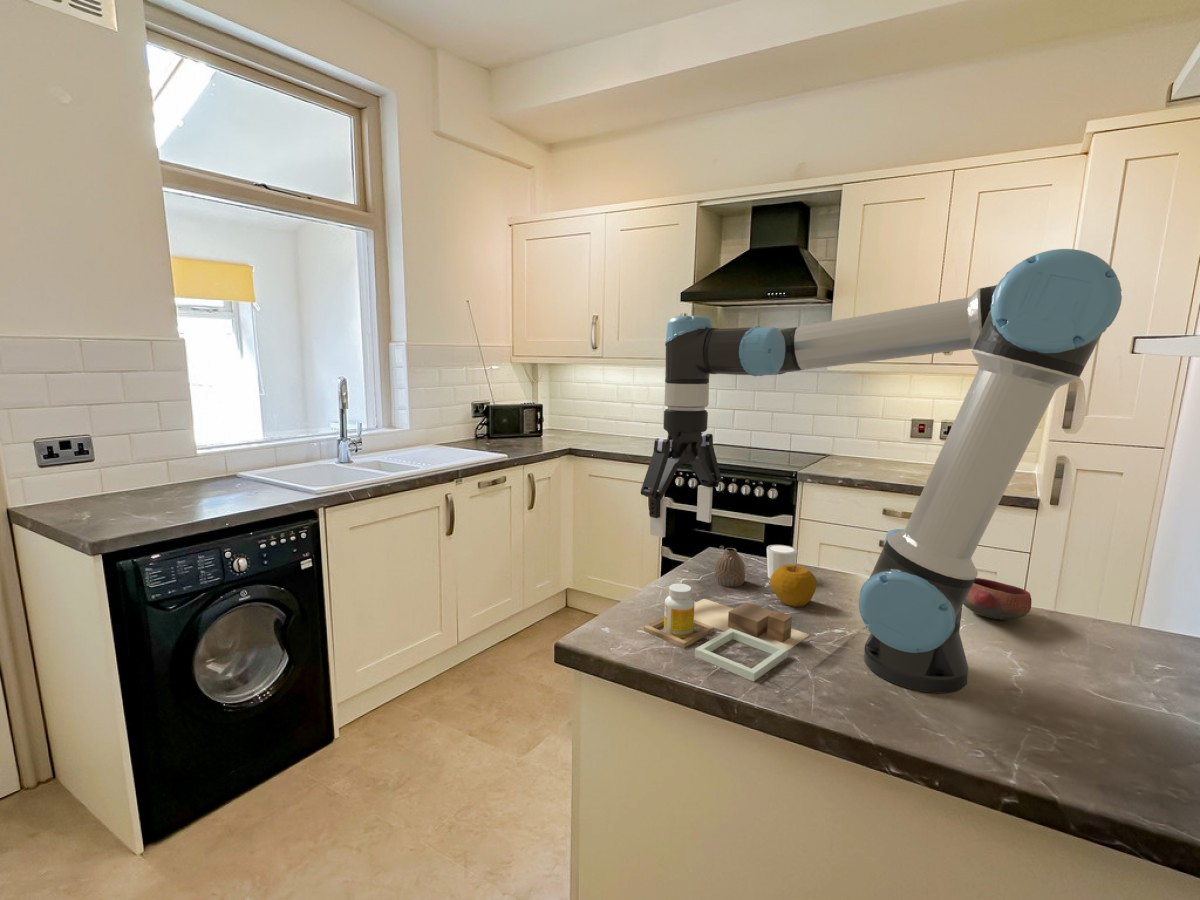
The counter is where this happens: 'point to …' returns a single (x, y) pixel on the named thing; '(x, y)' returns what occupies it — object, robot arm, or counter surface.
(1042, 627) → the counter surface
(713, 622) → the board
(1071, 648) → the counter surface
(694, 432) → the robot arm
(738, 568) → the vase
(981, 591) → the bowl
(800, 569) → the apple
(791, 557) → the white cylinder
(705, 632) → the oak collar
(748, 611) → the walnut block
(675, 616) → the supplement bottle
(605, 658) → the counter surface
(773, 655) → the tray
